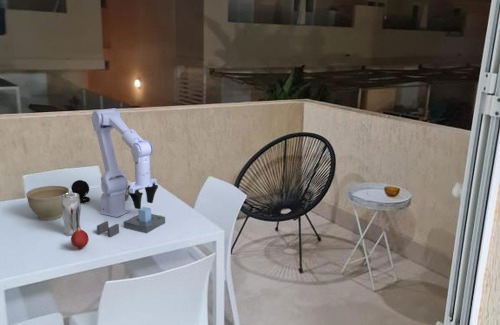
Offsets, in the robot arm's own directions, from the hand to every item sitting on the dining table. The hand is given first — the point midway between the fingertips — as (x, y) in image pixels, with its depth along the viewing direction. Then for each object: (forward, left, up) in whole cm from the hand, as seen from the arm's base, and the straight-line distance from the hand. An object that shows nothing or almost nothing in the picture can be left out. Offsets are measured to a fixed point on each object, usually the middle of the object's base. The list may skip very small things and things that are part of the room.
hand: (144, 205), depth 186 cm
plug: (0, 0, -8) cm, 8 cm away
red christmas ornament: (-6, -28, -9) cm, 30 cm away
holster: (-7, -13, -8) cm, 17 cm away
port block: (0, 0, -8) cm, 8 cm away
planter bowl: (-40, -11, -9) cm, 42 cm away
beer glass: (-19, -19, -9) cm, 28 cm away
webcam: (-43, +9, -9) cm, 45 cm away
